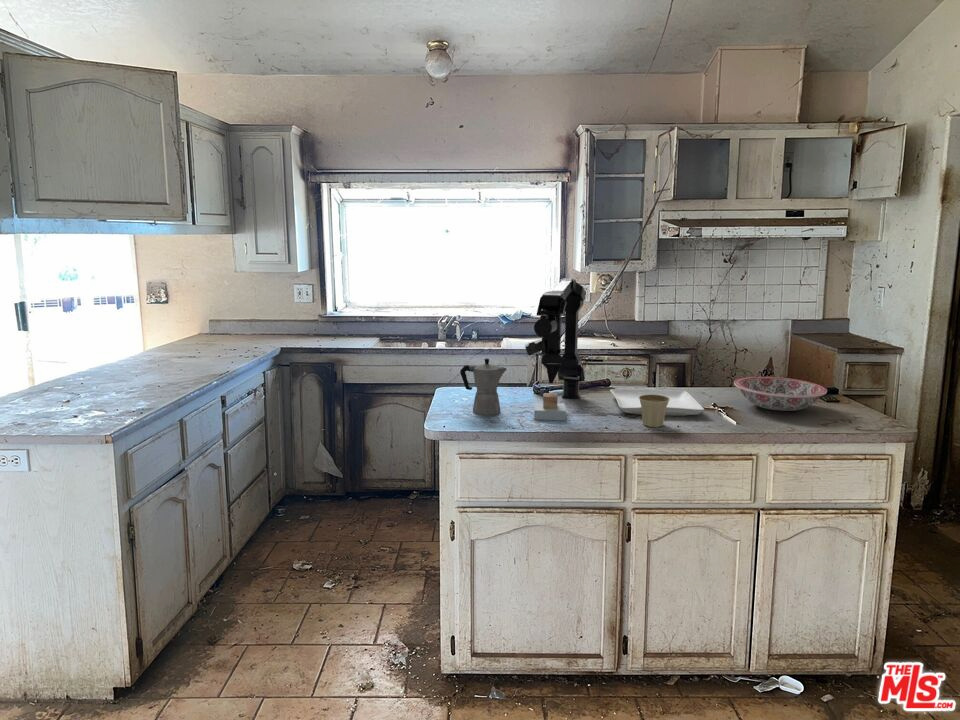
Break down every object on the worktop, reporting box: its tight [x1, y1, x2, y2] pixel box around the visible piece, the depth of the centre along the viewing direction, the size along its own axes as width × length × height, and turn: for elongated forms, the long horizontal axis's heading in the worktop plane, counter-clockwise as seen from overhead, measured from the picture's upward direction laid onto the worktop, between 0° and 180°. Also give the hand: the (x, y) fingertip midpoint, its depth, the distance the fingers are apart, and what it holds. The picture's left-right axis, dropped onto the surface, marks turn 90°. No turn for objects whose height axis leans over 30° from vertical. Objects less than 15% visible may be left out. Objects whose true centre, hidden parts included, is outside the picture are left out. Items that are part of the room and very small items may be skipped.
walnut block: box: [542, 392, 559, 409], centre depth 224 cm, size 4×4×4 cm
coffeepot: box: [459, 358, 508, 416], centre depth 228 cm, size 15×9×18 cm, turn 88°
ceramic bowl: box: [734, 376, 828, 412], centre depth 235 cm, size 29×29×8 cm
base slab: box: [533, 402, 567, 421], centre depth 224 cm, size 10×10×3 cm
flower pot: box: [639, 394, 670, 428], centre depth 214 cm, size 9×9×9 cm
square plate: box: [609, 388, 705, 417], centre depth 236 cm, size 27×27×4 cm
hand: (550, 379), depth 223 cm, fingers open, 9 cm apart
